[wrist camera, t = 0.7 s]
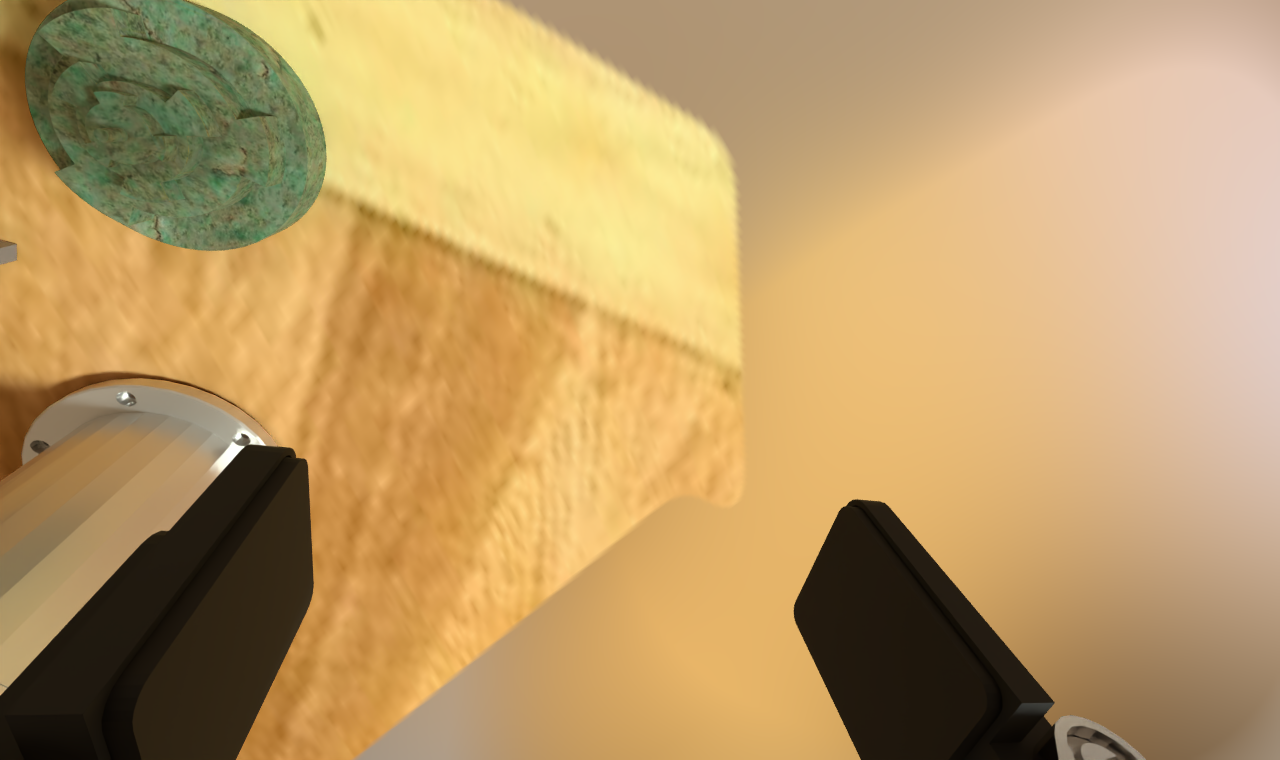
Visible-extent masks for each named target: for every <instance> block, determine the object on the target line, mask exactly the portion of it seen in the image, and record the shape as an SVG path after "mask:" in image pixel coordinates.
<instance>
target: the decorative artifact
mask: <svg viewBox="0 0 1280 760" xmlns="http://www.w3.org/2000/svg"><path fill="white" fill-rule="evenodd" d="M25 87H26V94H27V100H28V104H29V108H30V112H31V115H32V118H33V121H34V124H35V126H36V129H37V131H38V133H39V135H40V138H41V140H42V141H43V143H44V145H45V147H46V149H47V150H48V152H49V154H50V155H51V157H52V158H53V160H54V161H55V163H56V164H57V165H58V167H59V168H60V169H61V170H59V171H56V172H55V173H56V175H57V176H58V177H59V178H60V179H61V180H62V181H63V182H64V183H65V184H66V185H67V186H68V187H69V188H70V189H71V190H72V191H73V192H74V193H76V194H77V195H78V196H79V197H80V198H82V199H83V200H84V201H85V202H87V203H88V204H90V205H91V206H92V207H94V208H95V209H97V210H98V211H100V212H101V213H103V214H105V215H106V216H108V217H110V218H112V219H114V220H116V221H118V222H120V223H122V224H123V225H125V226H127V227H129V228H131V229H132V230H134V231H136V232H138V233H141V234H143V235H145V236H147V237H150V238H152V239H155V240H158V241H160V242H163V243H167V244H170V245H173V246H178V247H182V248H187V249H195V250H207V251H218V250H229V249H236V248H240V247H245V246H248V245H251V244H254V243H256V242H258V241H260V240H263V239H265V238H267V237H269V236H271V235H274V234H276V233H278V232H280V231H282V230H284V229H286V228H288V227H289V226H291V225H293V224H294V223H295V222H297V221H298V220H299V219H300V218H301V217H302V216H303V215H304V214H305V213H306V212H307V211H308V210H309V209H310V207H311V206H312V205H313V203H314V201H315V200H316V198H317V196H318V194H319V192H320V189H321V187H322V183H323V180H324V175H325V170H326V144H325V137H324V132H323V128H322V124H321V121H320V118H319V115H318V112H317V110H316V108H315V105H314V103H313V101H312V99H311V97H310V95H309V93H308V91H307V90H306V88H305V87H304V85H303V83H302V82H301V80H300V79H299V77H298V76H297V75H296V73H295V72H294V71H293V69H292V68H291V67H290V66H289V65H288V63H287V62H286V61H285V60H284V59H283V58H282V57H281V56H280V55H279V54H278V53H277V52H276V51H275V50H274V49H273V48H272V47H271V46H270V45H269V44H268V43H266V42H265V41H264V40H263V39H262V38H261V37H259V36H258V35H256V34H255V33H254V32H252V31H251V30H250V29H248V28H246V27H245V26H243V25H242V24H240V23H238V22H237V21H235V20H233V19H231V18H229V17H227V16H225V15H223V14H221V13H218V12H216V11H214V10H211V9H208V8H205V7H202V6H199V5H196V4H193V3H190V2H187V1H184V0H67V1H65V2H64V3H62V4H61V5H59V6H58V7H57V8H55V9H54V10H53V11H52V12H51V13H50V14H49V15H48V16H47V17H46V18H45V19H44V21H43V22H42V23H41V24H40V26H39V27H38V29H37V31H36V33H35V34H34V36H33V39H32V41H31V44H30V47H29V50H28V55H27V59H26V68H25Z"/></svg>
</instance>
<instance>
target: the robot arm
mask: <svg viewBox="0 0 1280 760" xmlns="http://www.w3.org/2000/svg"><path fill="white" fill-rule="evenodd" d="M21 457H22V466H21V467H20V468H18V469H17V470H15V471H14V472H13V473H11V474H10V475H8V476H7V477H5V478H4V479H2V480H1V481H0V760H236V758H237V756H238V754H239V752H240V750H241V748H242V746H243V744H244V742H245V739H246V737H247V735H248V733H249V731H250V729H251V727H252V725H253V723H254V721H255V719H256V716H257V714H258V712H259V710H260V708H261V706H262V704H263V702H264V700H265V698H266V696H267V693H268V691H269V689H270V687H271V685H272V683H273V681H274V679H275V677H276V675H277V673H278V670H279V668H280V666H281V664H282V662H283V660H284V658H285V656H286V654H287V652H288V650H289V647H290V645H291V643H292V641H293V639H294V637H295V635H296V633H297V631H298V629H299V627H300V624H301V622H302V620H303V618H304V616H305V614H306V612H307V610H308V607H309V605H310V602H311V598H312V594H313V584H314V582H313V561H312V541H311V520H310V499H309V478H308V464H307V461H306V460H305V459H301V458H296V455H295V452H294V450H293V449H292V448H287V447H278V446H277V444H276V443H275V441H274V440H273V438H272V437H271V436H270V435H269V434H268V433H267V432H266V431H265V430H264V429H263V428H262V427H261V426H260V424H259V423H258V422H257V421H255V420H254V419H253V418H251V417H250V416H249V415H247V414H246V413H245V412H243V411H242V410H240V409H239V408H238V407H236V406H234V405H232V404H230V403H229V402H227V401H225V400H223V399H221V398H219V397H217V396H215V395H213V394H210V393H207V392H205V391H202V390H199V389H197V388H194V387H191V386H187V385H183V384H178V383H174V382H170V381H165V380H154V379H143V378H133V379H115V380H109V381H105V382H100V383H96V384H91V385H88V386H86V387H84V388H81V389H79V390H77V391H74V392H72V393H70V394H68V395H66V396H65V397H63V398H62V399H60V400H58V401H57V402H55V403H54V404H52V405H50V406H49V407H47V408H46V409H45V410H44V411H43V412H42V413H41V414H40V415H39V416H38V417H37V418H36V419H35V420H34V421H33V423H32V425H31V426H30V428H29V430H28V432H27V433H26V435H25V438H24V443H23V448H22V452H21ZM794 618H795V621H796V624H797V626H798V628H799V631H800V633H801V635H802V637H803V639H804V641H805V643H806V645H807V647H808V650H809V652H810V654H811V656H812V658H813V660H814V662H815V664H816V666H817V668H818V670H819V673H820V675H821V677H822V679H823V681H824V683H825V685H826V687H827V689H828V692H829V694H830V696H831V698H832V700H833V702H834V704H835V706H836V708H837V710H838V712H839V715H840V717H841V719H842V721H843V723H844V725H845V727H846V729H847V731H848V733H849V736H850V738H851V740H852V742H853V744H854V746H855V748H856V750H857V752H858V754H859V757H860V759H861V760H1146V759H1145V758H1144V757H1143V756H1142V755H1141V754H1140V753H1139V752H1137V750H1135V749H1134V748H1133V747H1132V746H1130V745H1129V744H1128V743H1127V742H1126V741H1124V740H1123V739H1122V738H1121V737H1119V736H1118V735H1116V734H1114V733H1113V732H1111V731H1110V730H1108V729H1107V728H1105V727H1103V726H1101V725H1099V724H1097V723H1095V722H1093V721H1091V720H1088V719H1086V718H1082V717H1077V716H1073V715H1070V716H1063V717H1061V718H1060V719H1059V720H1058V721H1057V722H1056V723H1055V724H1054V725H1053V726H1051V725H1050V724H1049V722H1048V721H1047V720H1046V719H1045V717H1044V715H1045V714H1046V713H1047V711H1048V710H1049V709H1050V708H1051V707H1052V705H1053V704H1054V702H1053V700H1052V699H1051V698H1050V697H1049V695H1048V694H1047V693H1046V692H1045V691H1044V689H1043V688H1042V687H1041V686H1040V685H1039V684H1038V682H1037V681H1036V680H1035V679H1034V678H1033V676H1032V675H1031V674H1030V673H1029V672H1028V671H1027V669H1026V668H1025V667H1024V666H1023V665H1022V664H1021V662H1020V661H1019V660H1018V659H1017V658H1016V657H1015V655H1014V654H1013V653H1012V652H1011V650H1010V649H1009V648H1008V647H1007V646H1006V645H1005V643H1004V642H1003V641H1002V640H1001V639H1000V637H999V636H998V635H997V634H996V633H995V632H994V630H993V629H992V628H991V627H990V626H989V624H988V623H987V622H986V621H985V620H984V619H983V617H982V616H981V615H980V614H979V613H978V612H977V610H976V609H975V608H974V607H973V606H972V605H971V603H970V602H969V601H968V600H967V598H965V596H964V595H963V594H962V593H961V591H960V590H959V589H958V588H957V587H956V585H955V584H954V583H953V582H952V581H951V580H950V578H949V577H948V576H947V575H946V574H945V572H944V571H943V570H942V569H941V568H940V567H939V565H938V564H937V563H936V562H935V561H934V559H933V558H932V557H931V556H930V555H929V554H928V552H927V551H926V550H925V549H924V548H923V546H922V545H921V544H920V543H919V542H918V541H917V539H916V538H915V537H914V536H913V535H912V533H911V532H910V531H909V530H908V529H907V528H906V526H905V525H904V524H903V523H902V522H901V521H900V519H899V518H898V517H897V516H896V515H895V513H894V512H893V511H892V510H891V509H890V508H889V506H887V505H886V504H885V503H882V502H879V501H868V500H852V501H850V502H849V503H848V504H847V506H845V507H843V508H841V510H840V511H839V513H838V515H837V517H836V519H835V521H834V523H833V525H832V527H831V529H830V532H829V534H828V536H827V538H826V540H825V542H824V544H823V546H822V548H821V550H820V552H819V555H818V556H817V558H816V561H815V563H814V565H813V567H812V569H811V571H810V573H809V575H808V577H807V579H806V581H805V583H804V585H803V587H802V590H801V592H800V594H799V596H798V598H797V600H796V602H795V605H794Z"/></svg>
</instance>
